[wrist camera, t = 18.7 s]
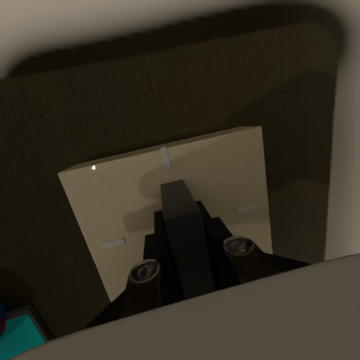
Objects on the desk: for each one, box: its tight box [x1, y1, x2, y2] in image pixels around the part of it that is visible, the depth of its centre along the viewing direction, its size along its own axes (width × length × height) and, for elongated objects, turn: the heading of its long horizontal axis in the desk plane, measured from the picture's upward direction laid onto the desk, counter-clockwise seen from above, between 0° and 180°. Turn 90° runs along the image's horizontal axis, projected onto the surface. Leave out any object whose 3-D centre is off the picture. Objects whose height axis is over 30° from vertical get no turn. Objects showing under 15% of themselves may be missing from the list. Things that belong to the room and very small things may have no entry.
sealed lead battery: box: [160, 179, 216, 300], centre depth 10 cm, size 6×1×5 cm, turn 13°
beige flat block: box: [58, 126, 272, 302], centre depth 14 cm, size 12×10×3 cm
